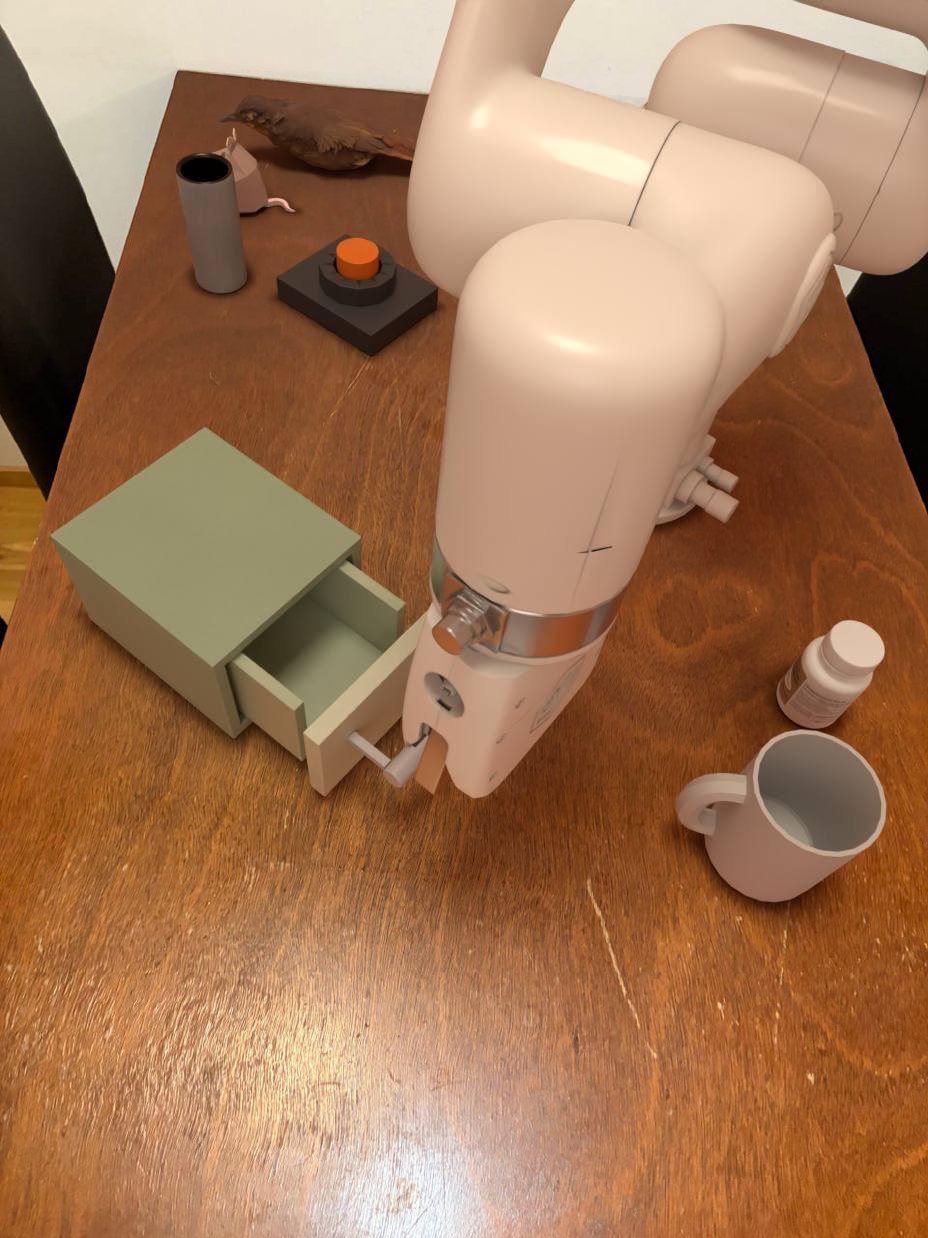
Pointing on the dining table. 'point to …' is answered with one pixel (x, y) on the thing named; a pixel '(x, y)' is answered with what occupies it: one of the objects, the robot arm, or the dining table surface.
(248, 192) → the mouse figurine
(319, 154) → the bird sculpture
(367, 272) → the button
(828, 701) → the pill bottle
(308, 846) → the dining table surface
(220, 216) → the gray hollow cylinder
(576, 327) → the robot arm
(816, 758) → the cup
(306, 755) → the drawer
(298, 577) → the cabinet
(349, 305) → the control box
